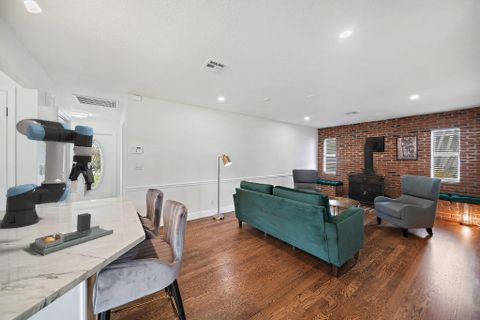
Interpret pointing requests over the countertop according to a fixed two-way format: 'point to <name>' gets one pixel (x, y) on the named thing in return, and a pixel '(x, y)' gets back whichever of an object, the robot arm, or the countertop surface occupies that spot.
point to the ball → (49, 239)
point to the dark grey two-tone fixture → (82, 228)
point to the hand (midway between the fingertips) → (80, 194)
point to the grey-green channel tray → (75, 240)
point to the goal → (47, 243)
